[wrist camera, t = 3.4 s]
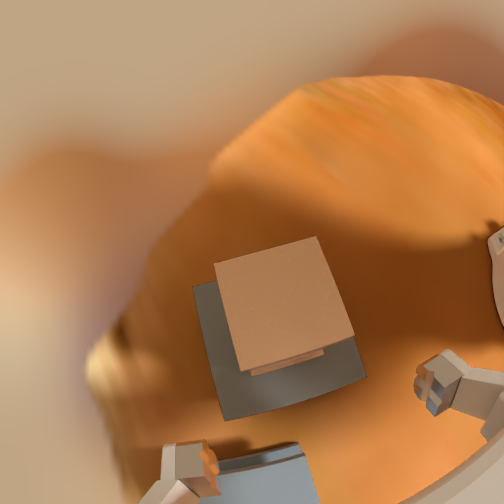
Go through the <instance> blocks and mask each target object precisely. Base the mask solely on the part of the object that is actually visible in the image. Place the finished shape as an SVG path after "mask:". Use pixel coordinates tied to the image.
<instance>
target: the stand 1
mask: <svg viewBox="0 0 504 504" xmlns="http://www.w3.org/2000/svg"><path fill="white" fill-rule="evenodd" d="M192 288H193V293H194V298H195V303H196V307H197V312H198V317H199V322H200V326H201V331H202V335H203V339H204V344H205V348H206V352H207V356H208V360H209V364H210V369H211V372H212V376H213V380H214V384H215V388H216V392H217V395H218V399H219V403H220V406H221V410H222V414H223V417H224V420H225V421H229V420H234V419H239V418H243V417H248V416H252V415H256V414H260V413H264V412H267V411H271V410H275V409H278V408H282V407H285V406H289V405H292V404H295V403H299V402H302V401H305V400H308V399H311V398H314V397H317V396H320V395H323V394H325V393H328V392H331V391H334V390H336V389H339V388H342V387H344V386H347V385H349V384H352V383H354V382H357V381H359V380H361V379H364V378H366V377H367V375H366V372H365V369H364V366H363V363H362V360H361V357H360V354H359V351H358V348H357V345H356V342H355V340H354V337H351V338H349V339H347V340H345V341H342V342H339V343H336V344H334V345H331V346H328V347H325V348H323V352H324V355H322V356H320V357H317V358H314V359H311V360H308V361H305V362H302V363H299V364H295V365H292V366H289V367H286V368H282V369H279V370H276V371H272V372H268V373H265V374H261V375H258V376H254V377H252V376H251V372H250V371H246V372H242V371H241V370H240V367H239V363H238V359H237V356H236V352H235V348H234V344H233V341H232V337H231V333H230V329H229V325H228V321H227V317H226V313H225V309H224V305H223V301H222V297H221V293H220V289H219V285H218V281H213V282H209V283H206V284H202V285H198V286H194V287H192Z"/></svg>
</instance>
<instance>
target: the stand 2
mask: <svg viewBox="0 0 504 504" xmlns="http://www.w3.org/2000/svg"><path fill="white" fill-rule="evenodd" d="M218 464H219V473H218V474H217V477H218V478H219V479H220V481H221V489H222V495H218V496H211V497H203V498H200V501H199V502H198V504H320V501H319V498H318V495H317V491H316V488H315V485H314V482H313V479H312V475H311V472H310V469H309V466H308V463H307V459H306V456H305V454H304V453H302V451H301V448H300V445H299V443H298V442H297V443H293V444H290V445H286V446H283V447H279V448H275V449H271V450H267V451H263V452H259V453H254V454H250V455H245V456H240V457H235V458H229V459H223V460H218Z"/></svg>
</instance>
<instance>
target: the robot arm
mask: <svg viewBox="0 0 504 504" xmlns="http://www.w3.org/2000/svg"><path fill="white" fill-rule="evenodd" d="M488 247H489V251H490V255H491V258H492V263H493V275H492V279H493V291H494V298H495V302H496V306H497V310H498V313H499V316H500V319H501V321H502V324H503V326H504V228H502V229H501V230H499V231H498V232H496V233H495V234H493V235H492V236H490V237H489V238H488ZM416 373H417V374H418V375H417V377H416V378H415V380H414V385H413V386H414V391H415V393H416V395H417V397H418V398H419V399H420V400H422V401H426V408H427V409H428V410H429V411H430V412H431V413H432V415H433V416H434V417H435V416H437V415H439V414H440V413H442V412H443V411H445V410H447V409H448V408H450V407H451V408H452V409H454V410H457V411H460V412H463V413H465V414H468V415H471V416H474V417H477V418H480V419H482V420H485V423H484V425H483V426H482V428H481V431H480V433H481V434H482V435H483V436H484V437H485V439H486V440H487V441H488V442H487V443H486V444H485V445H484V446H482V447H481V448H480V449H479V450H478V451H476V452H475V453H474V454H473V455H472V456H470V457H469V458H468V459H467V460H465V461H464V462H463V463H461V464H460V465H459V466H457V467H456V468H455V469H453V470H452V471H450V472H449V473H448V474H446V475H445V476H443V477H442V478H440V479H439V480H437V481H436V482H434V483H433V484H431V485H429V486H428V487H426V488H425V489H423V490H421V491H420V492H418V493H416V494H415V495H413V496H411V497H409V498H407V499H406V500H404V501H402V502H400V503H398V504H504V372H499V371H493V370H488V369H482V368H477V367H474V368H473V369H472V368H471V367H470V366H469V365H468V364H467V363H465V362H464V361H463V360H462V359H461V358H460V357H458V356H457V355H456V354H455V353H454V352H453V351H451V350H450V349H445V350H443V351H442V352H440V353H439V354H437V355H435V356H433V357H432V358H430V359H428V360H427V361H425V362H423V363H421V364H420V365H418V367H417V368H416ZM218 473H219V464H218V460H217V457H216V455H215V453H214V451H213V450H211V449H209V446H208V443H207V441H206V440H205V439H204V440H197V441H189V442H180V443H170V444H164V446H163V448H162V460H161V475H160V480H157V481H156V482H155V483H154V484H153V486H152V487H151V488H150V489H149V490H148V492H147V493H146V494H145V495H144V496H143V498H142V499H141V500H140V501H139V502H138V504H198V502H199V501H200V498H203V497H211V496H218V495H222V489H221V481H220V479H219V478H218V477H217V474H218Z"/></svg>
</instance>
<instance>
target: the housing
mask: <svg viewBox="0 0 504 504" xmlns="http://www.w3.org/2000/svg"><path fill="white" fill-rule="evenodd" d="M214 268H215V272H216V276H217V281H218V285H219V289H220V293H221V297H222V301H223V305H224V309H225V313H226V317H227V321H228V325H229V329H230V333H231V337H232V341H233V344H234V348H235V352H236V356H237V359H238V363H239V367H240V370H241V371H242V372H246V371H250V372H251V376H252V377H254V376H258V375H261V374H265V373H268V372H272V371H276V370H279V369H282V368H286V367H289V366H292V365H295V364H299V363H302V362H305V361H308V360H311V359H314V358H317V357H320V356H322V355H324V352H323V348H325V347H328V346H331V345H334V344H336V343H339V342H342V341H345V340H347V339H349V338H351V337H353V336H354V335H355V333H354V331H353V328H352V325H351V322H350V320H349V317H348V314H347V312H346V309H345V306H344V304H343V301H342V298H341V296H340V293H339V291H338V288H337V286H336V283H335V281H334V278H333V276H332V273H331V271H330V268H329V266H328V263H327V261H326V258H325V256H324V254H323V251H322V249H321V247H320V244H319V242H318V239H317V237H316V236H314V237H310V238H307V239H303V240H299V241H296V242H292V243H288V244H285V245H281V246H277V247H273V248H270V249H266V250H262V251H259V252H255V253H251V254H248V255H244V256H240V257H236V258H233V259H229V260H225V261H222V262H218V263H214Z"/></svg>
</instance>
